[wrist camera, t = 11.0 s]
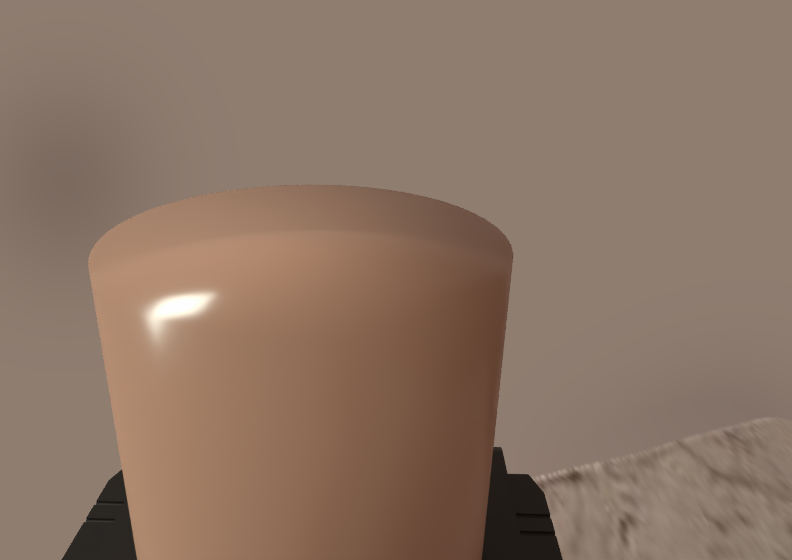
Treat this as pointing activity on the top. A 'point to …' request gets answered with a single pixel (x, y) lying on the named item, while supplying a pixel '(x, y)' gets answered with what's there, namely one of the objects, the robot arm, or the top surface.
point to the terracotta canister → (304, 373)
